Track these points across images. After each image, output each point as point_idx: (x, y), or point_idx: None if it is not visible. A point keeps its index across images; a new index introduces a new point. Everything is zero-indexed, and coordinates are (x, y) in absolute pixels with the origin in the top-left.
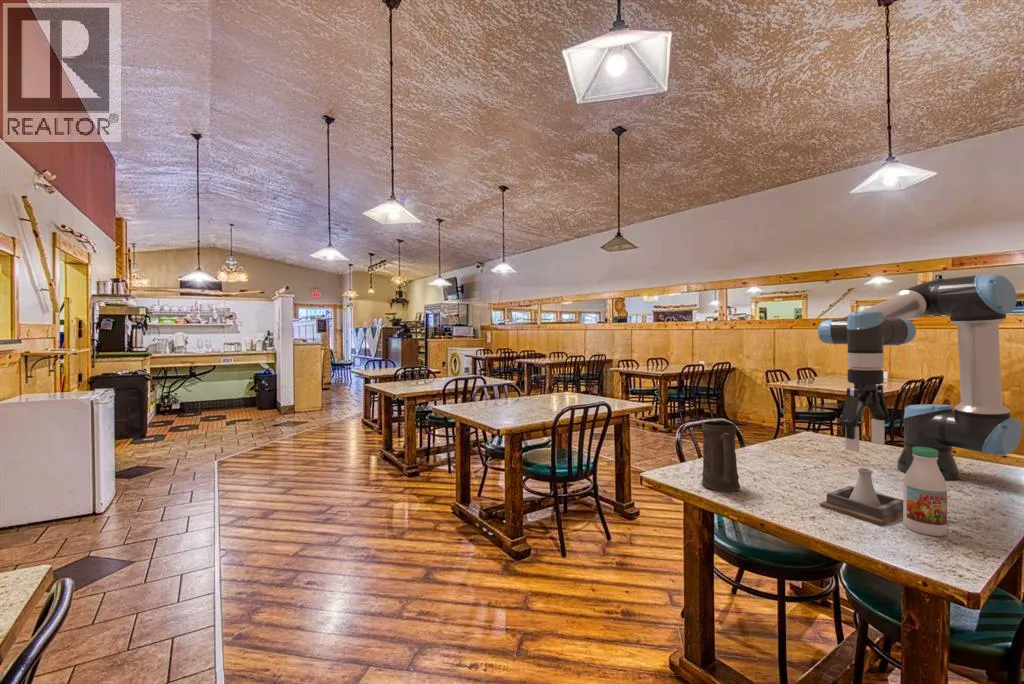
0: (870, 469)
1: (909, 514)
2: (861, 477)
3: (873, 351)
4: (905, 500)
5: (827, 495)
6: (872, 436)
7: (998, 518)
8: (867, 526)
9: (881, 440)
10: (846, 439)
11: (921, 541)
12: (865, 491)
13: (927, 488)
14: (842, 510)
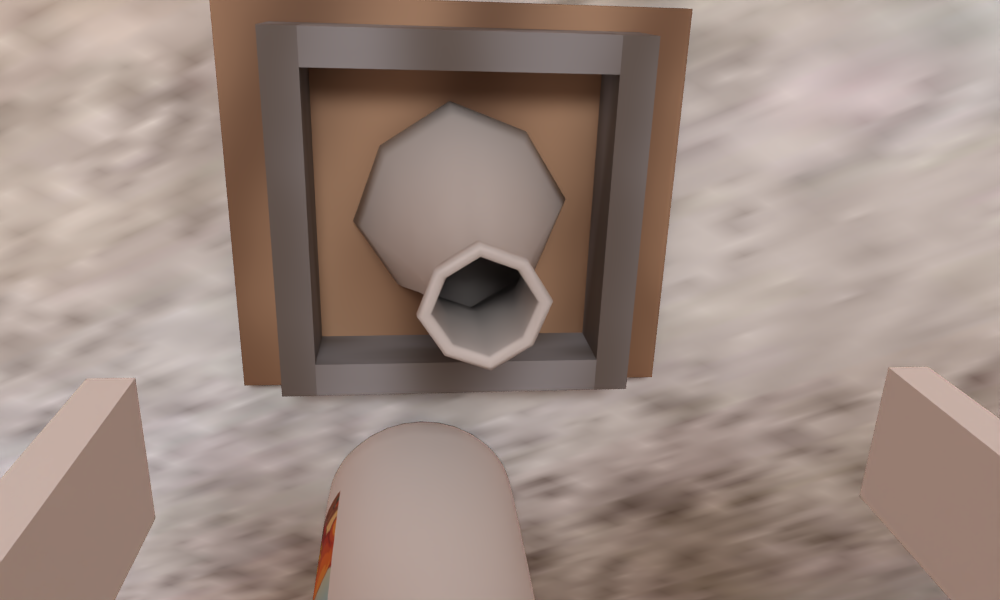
0: (537, 334)
1: (329, 521)
2: (432, 272)
3: None
4: (342, 548)
5: (258, 30)
6: (944, 426)
7: (915, 583)
8: (167, 336)
9: (894, 508)
10: (5, 488)
11: (233, 544)
12: (411, 273)
13: None
14: (224, 163)
